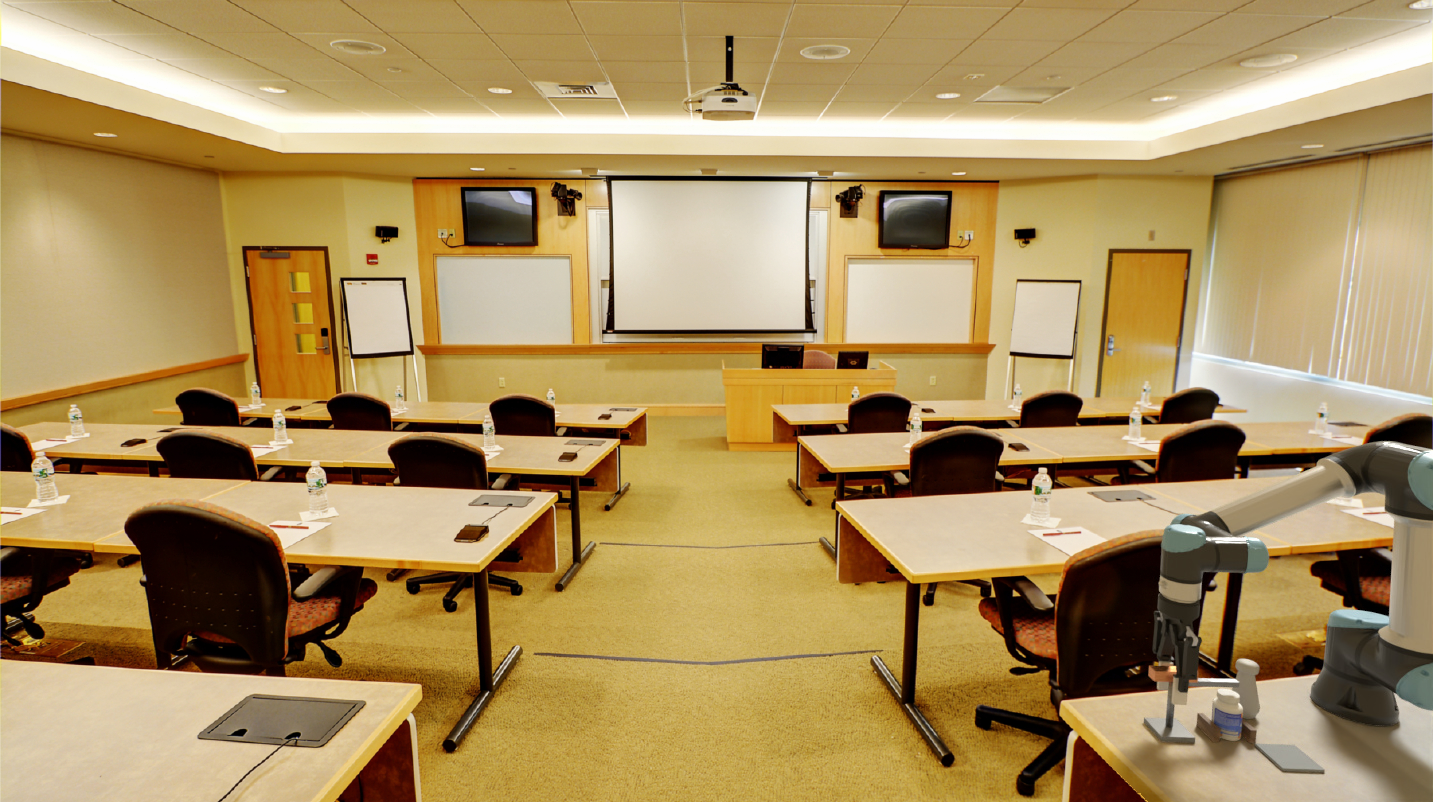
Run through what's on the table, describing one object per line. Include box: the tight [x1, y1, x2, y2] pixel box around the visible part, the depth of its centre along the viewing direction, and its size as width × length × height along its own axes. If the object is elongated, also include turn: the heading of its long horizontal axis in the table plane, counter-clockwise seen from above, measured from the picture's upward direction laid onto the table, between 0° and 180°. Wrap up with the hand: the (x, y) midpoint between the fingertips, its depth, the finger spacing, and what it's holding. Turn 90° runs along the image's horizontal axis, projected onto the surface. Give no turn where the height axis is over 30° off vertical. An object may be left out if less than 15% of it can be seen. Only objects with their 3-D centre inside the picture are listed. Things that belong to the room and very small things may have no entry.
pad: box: [1254, 743, 1326, 774], centre depth 141 cm, size 8×8×1 cm
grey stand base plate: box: [1143, 717, 1196, 744], centre depth 151 cm, size 7×7×1 cm
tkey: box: [1147, 665, 1240, 728], centre depth 149 cm, size 18×2×14 cm, turn 86°
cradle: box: [1196, 712, 1257, 744], centre depth 150 cm, size 9×6×3 cm
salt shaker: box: [1231, 658, 1261, 720], centre depth 156 cm, size 6×6×13 cm
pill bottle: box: [1210, 688, 1243, 742], centre depth 149 cm, size 5×5×10 cm
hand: (1171, 695), depth 150 cm, fingers open, 5 cm apart
